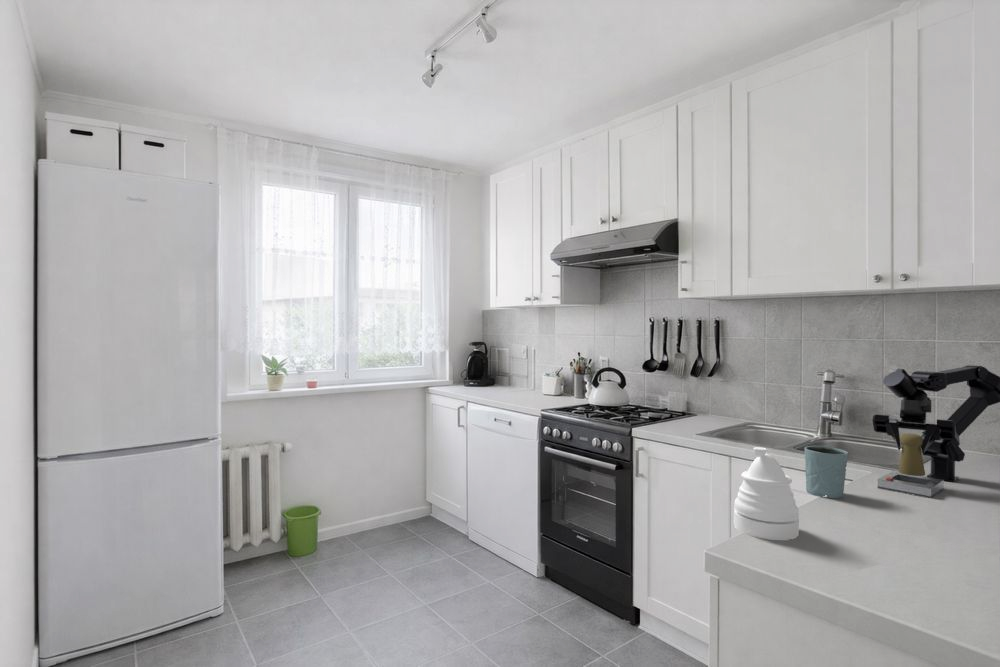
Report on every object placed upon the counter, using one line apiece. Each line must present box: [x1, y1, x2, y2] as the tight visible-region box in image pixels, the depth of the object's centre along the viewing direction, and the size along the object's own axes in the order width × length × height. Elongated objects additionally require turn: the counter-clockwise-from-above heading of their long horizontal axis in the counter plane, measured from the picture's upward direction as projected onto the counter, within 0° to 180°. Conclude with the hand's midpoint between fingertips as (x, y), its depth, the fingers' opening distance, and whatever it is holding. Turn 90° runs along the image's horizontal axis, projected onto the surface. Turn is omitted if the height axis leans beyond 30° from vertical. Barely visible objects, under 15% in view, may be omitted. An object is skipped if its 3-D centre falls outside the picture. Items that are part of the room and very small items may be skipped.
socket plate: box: [877, 470, 945, 499], centre depth 152 cm, size 14×12×3 cm
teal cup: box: [804, 445, 849, 499], centre depth 146 cm, size 10×10×12 cm
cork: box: [898, 433, 926, 477], centre depth 152 cm, size 6×6×11 cm
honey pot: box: [733, 446, 800, 541], centre depth 119 cm, size 13×13×18 cm
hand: (910, 450), depth 151 cm, fingers closed on cork, 5 cm apart
